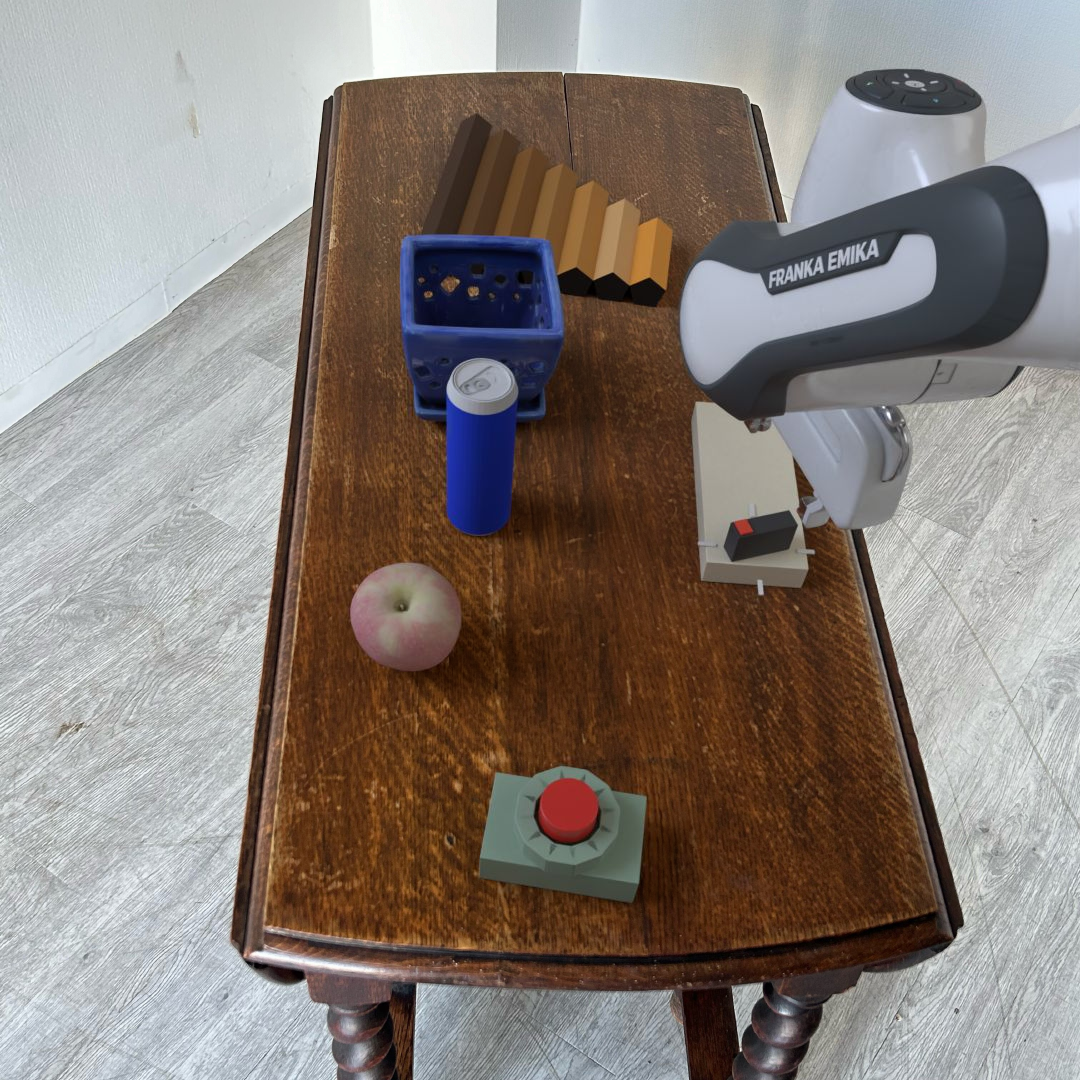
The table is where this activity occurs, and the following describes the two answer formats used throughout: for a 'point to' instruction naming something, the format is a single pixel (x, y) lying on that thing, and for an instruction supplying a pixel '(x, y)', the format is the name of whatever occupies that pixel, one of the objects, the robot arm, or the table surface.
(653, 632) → the table surface
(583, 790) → the power button
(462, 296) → the flower pot
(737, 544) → the dark grey red-tipped block
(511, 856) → the control block
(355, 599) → the apple
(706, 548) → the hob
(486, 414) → the beverage can
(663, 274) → the pan flute
